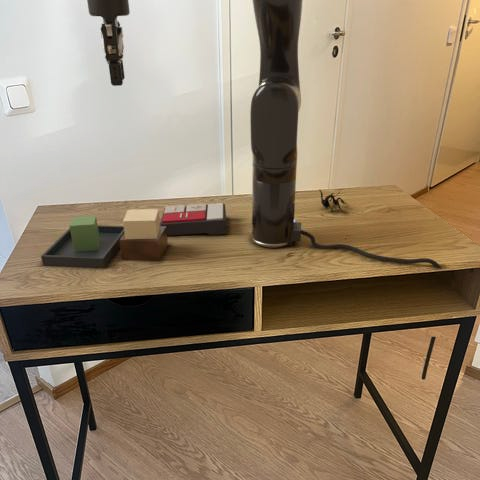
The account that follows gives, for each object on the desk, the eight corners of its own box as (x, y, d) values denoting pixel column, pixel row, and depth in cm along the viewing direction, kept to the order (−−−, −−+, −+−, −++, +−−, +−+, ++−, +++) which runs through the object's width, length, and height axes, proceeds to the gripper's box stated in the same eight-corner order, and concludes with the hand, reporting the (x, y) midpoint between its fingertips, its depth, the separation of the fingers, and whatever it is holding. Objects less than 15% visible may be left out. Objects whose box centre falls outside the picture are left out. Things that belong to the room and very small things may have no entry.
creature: (338, 206, 134) (312, 203, 131) (344, 187, 131) (318, 183, 128) (353, 217, 128) (325, 214, 125) (359, 196, 125) (332, 193, 122)
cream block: (160, 226, 109) (158, 209, 106) (157, 238, 103) (155, 220, 101) (130, 227, 108) (128, 209, 106) (125, 239, 103) (122, 221, 101)
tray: (129, 234, 116) (128, 226, 115) (104, 267, 102) (103, 258, 101) (74, 232, 118) (73, 224, 117) (43, 265, 103) (40, 256, 102)
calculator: (163, 204, 123) (224, 200, 123) (166, 221, 125) (226, 217, 125) (159, 221, 113) (225, 216, 113) (161, 238, 116) (226, 234, 116)
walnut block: (168, 245, 111) (166, 226, 109) (159, 261, 104) (157, 241, 102) (133, 244, 112) (130, 225, 110) (122, 259, 105) (119, 239, 103)
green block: (100, 241, 112) (96, 215, 109) (98, 250, 108) (93, 224, 105) (77, 242, 111) (72, 217, 108) (74, 252, 107) (69, 225, 104)
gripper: (125, -16, 86) (136, 87, 95) (128, -14, 98) (137, 77, 107) (80, -16, 85) (96, 88, 94) (88, -14, 97) (102, 78, 106)
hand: (118, 82), depth 101 cm, fingers open, 8 cm apart
